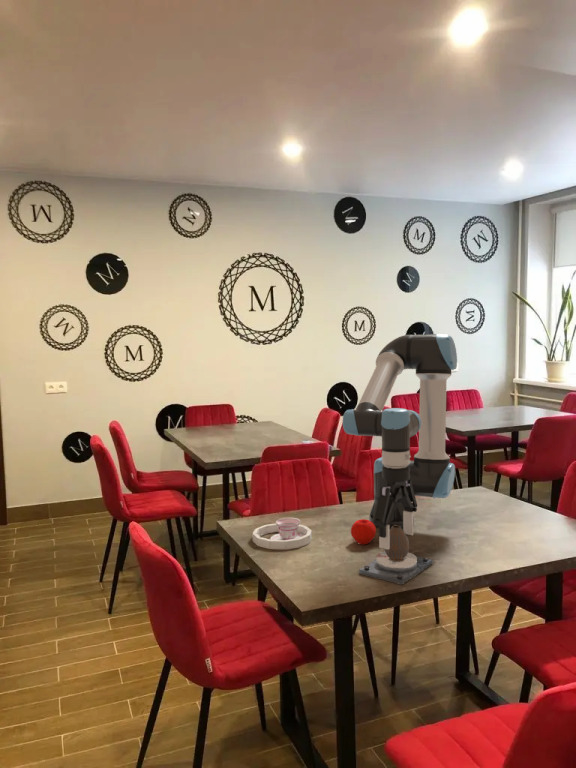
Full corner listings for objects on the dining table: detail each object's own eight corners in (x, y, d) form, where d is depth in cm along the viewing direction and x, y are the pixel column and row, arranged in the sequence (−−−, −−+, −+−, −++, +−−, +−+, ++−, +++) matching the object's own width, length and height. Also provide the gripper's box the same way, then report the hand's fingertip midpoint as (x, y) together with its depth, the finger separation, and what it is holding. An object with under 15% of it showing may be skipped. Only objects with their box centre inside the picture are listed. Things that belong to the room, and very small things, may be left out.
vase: (378, 557, 169) (378, 526, 169) (393, 551, 174) (393, 521, 173) (399, 564, 164) (399, 532, 164) (414, 557, 169) (414, 526, 168)
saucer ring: (241, 541, 194) (241, 534, 194) (278, 527, 209) (278, 519, 209) (286, 553, 183) (286, 545, 183) (322, 537, 197) (322, 529, 197)
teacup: (284, 532, 204) (283, 513, 203) (314, 538, 197) (314, 519, 197) (262, 542, 194) (261, 523, 194) (293, 549, 187) (293, 529, 187)
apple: (380, 546, 188) (379, 522, 187) (355, 548, 186) (354, 524, 186) (372, 538, 196) (372, 515, 195) (348, 540, 194) (347, 517, 194)
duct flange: (359, 573, 166) (359, 562, 166) (391, 554, 180) (391, 544, 180) (402, 584, 158) (402, 572, 158) (432, 564, 172) (432, 552, 172)
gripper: (385, 476, 155) (386, 557, 157) (428, 458, 175) (429, 531, 177) (360, 472, 160) (361, 551, 162) (405, 455, 179) (405, 526, 181)
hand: (396, 541), depth 169 cm, fingers open, 13 cm apart
